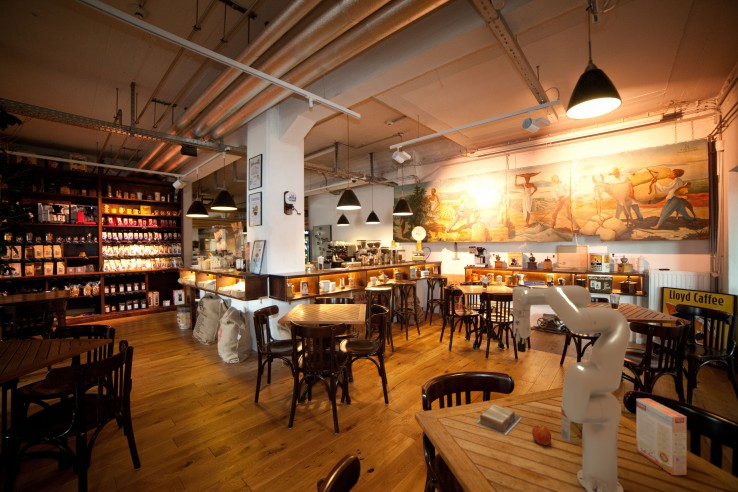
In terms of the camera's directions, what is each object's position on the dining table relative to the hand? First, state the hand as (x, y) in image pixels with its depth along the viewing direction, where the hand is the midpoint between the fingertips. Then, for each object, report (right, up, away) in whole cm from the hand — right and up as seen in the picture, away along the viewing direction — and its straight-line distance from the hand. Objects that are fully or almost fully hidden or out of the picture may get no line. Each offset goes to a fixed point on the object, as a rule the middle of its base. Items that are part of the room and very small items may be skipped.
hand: (521, 351), depth 148 cm
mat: (-12, -31, -4) cm, 34 cm away
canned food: (+13, -31, -16) cm, 38 cm away
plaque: (-8, -29, 0) cm, 30 cm away
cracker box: (+37, -31, -31) cm, 57 cm away
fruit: (-1, -31, -20) cm, 37 cm away
